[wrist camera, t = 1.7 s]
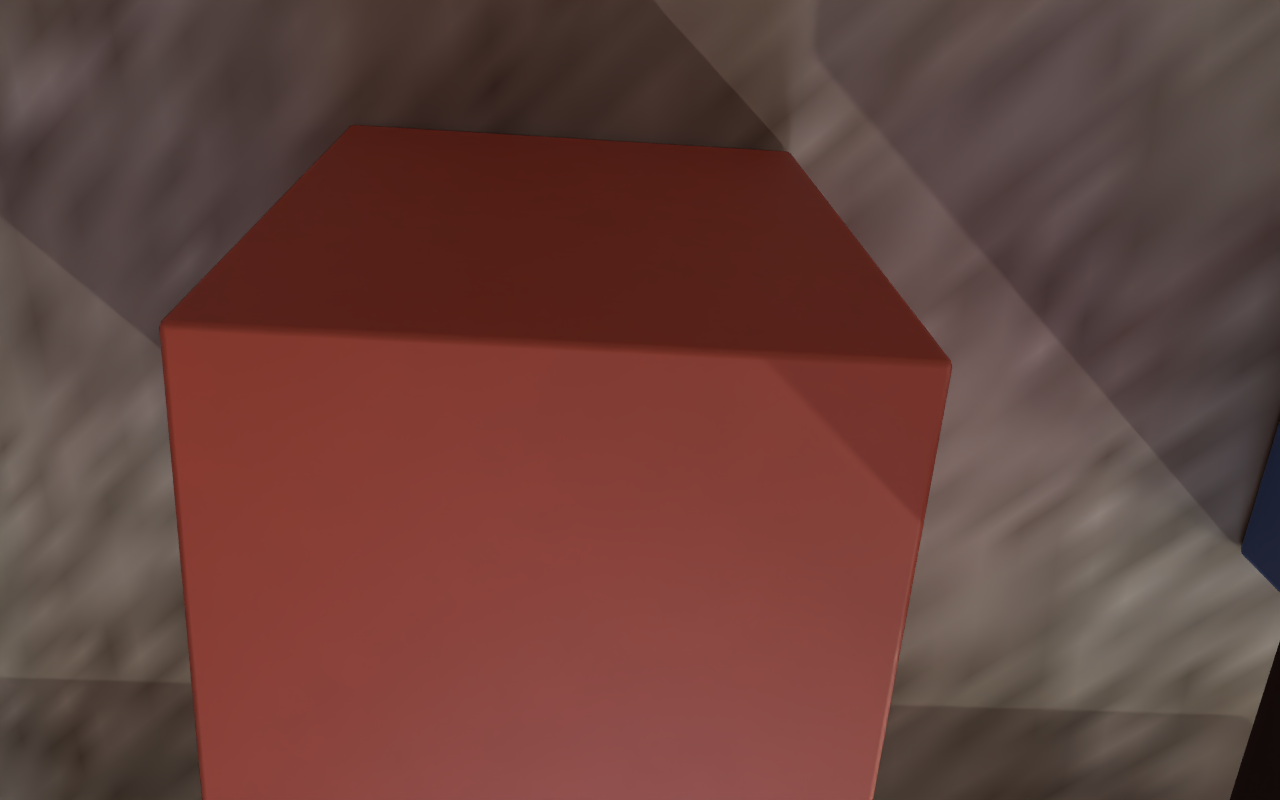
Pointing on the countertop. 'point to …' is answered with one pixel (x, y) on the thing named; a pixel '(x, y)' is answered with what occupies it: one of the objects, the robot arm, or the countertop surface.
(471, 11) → the countertop surface
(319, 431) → the red block
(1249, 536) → the blue block
